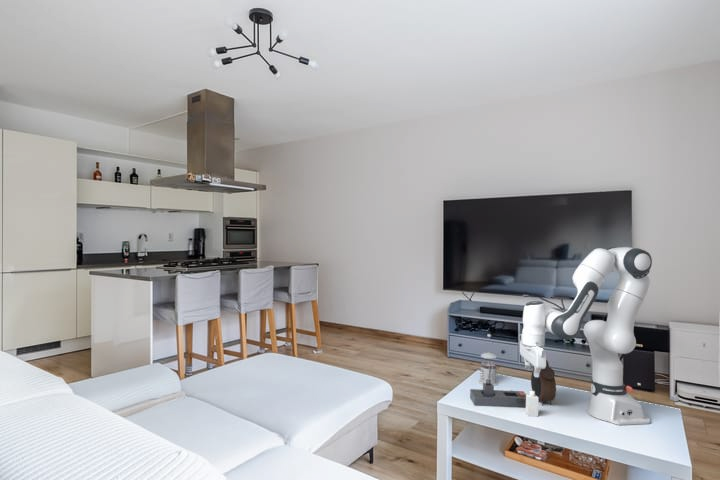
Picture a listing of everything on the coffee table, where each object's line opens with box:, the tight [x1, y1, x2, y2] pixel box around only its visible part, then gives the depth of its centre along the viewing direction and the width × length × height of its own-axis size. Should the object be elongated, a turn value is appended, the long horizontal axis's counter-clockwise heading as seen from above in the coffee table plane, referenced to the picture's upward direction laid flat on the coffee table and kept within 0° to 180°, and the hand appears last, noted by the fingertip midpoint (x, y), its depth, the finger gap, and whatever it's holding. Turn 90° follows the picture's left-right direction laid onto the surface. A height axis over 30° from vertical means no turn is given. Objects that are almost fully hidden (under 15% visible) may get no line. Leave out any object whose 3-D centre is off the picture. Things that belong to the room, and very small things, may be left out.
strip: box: [469, 388, 526, 409], centre depth 184 cm, size 24×9×5 cm, turn 87°
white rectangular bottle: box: [525, 389, 539, 418], centre depth 171 cm, size 4×3×10 cm
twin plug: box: [482, 379, 495, 395], centre depth 184 cm, size 4×3×10 cm
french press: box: [478, 333, 499, 387], centre depth 209 cm, size 10×12×25 cm
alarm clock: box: [530, 359, 557, 407], centre depth 186 cm, size 14×7×20 cm, turn 178°
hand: (531, 373), depth 171 cm, fingers open, 8 cm apart
